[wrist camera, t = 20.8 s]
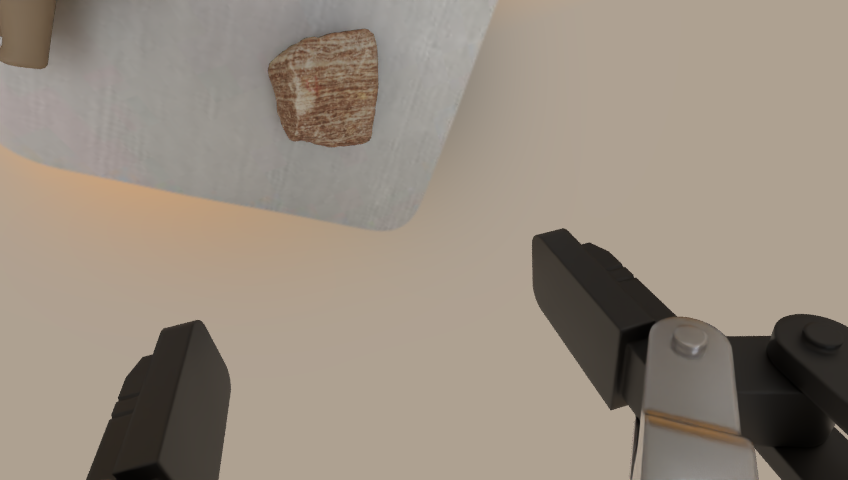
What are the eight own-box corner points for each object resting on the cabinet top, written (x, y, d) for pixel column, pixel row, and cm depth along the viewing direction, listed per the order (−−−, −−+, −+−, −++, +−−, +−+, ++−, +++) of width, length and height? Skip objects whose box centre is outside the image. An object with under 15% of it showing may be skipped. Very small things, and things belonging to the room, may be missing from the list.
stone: (324, 125, 33) (383, 145, 31) (260, 150, 29) (323, 175, 27) (322, 13, 29) (389, 29, 27) (247, 23, 25) (321, 42, 23)
